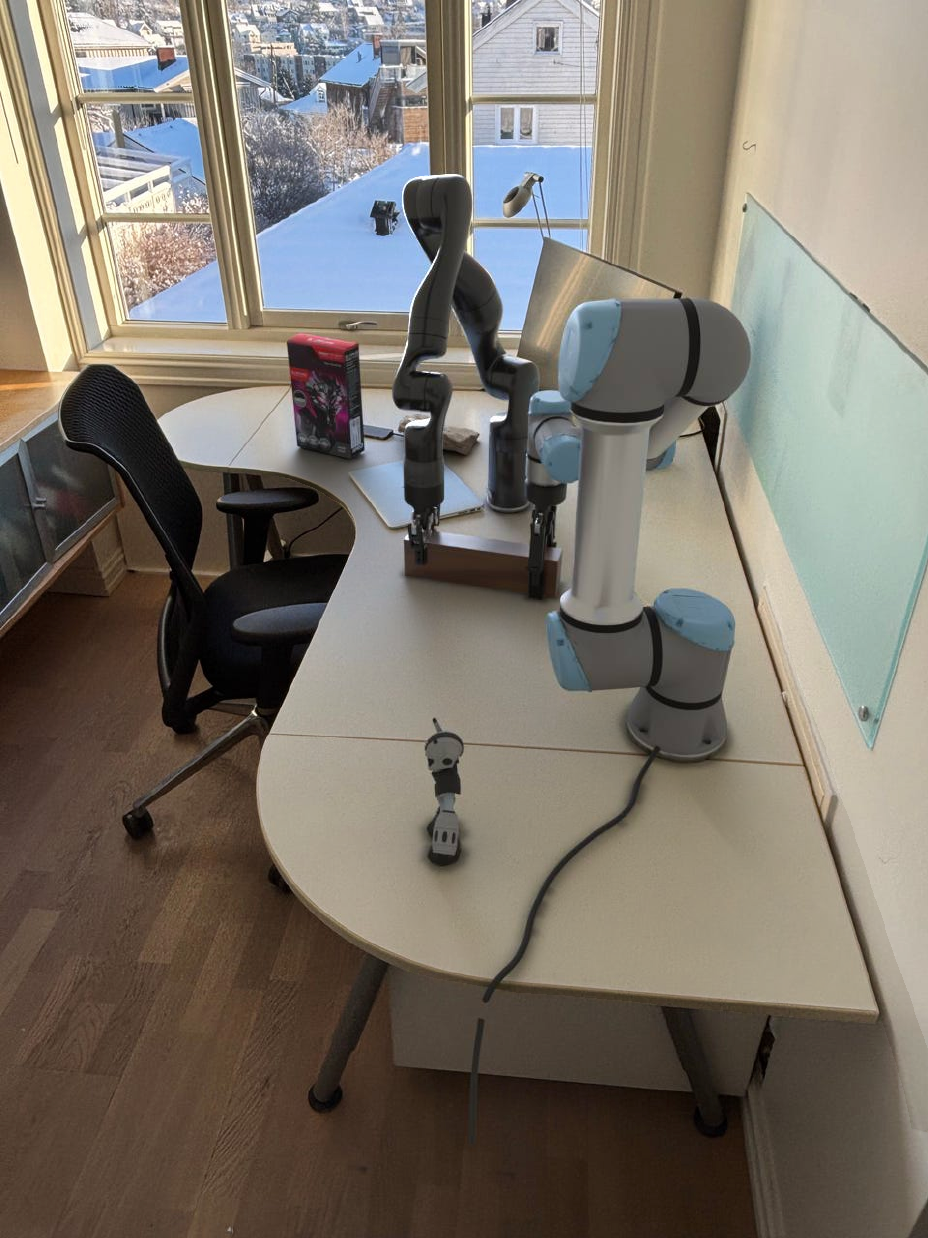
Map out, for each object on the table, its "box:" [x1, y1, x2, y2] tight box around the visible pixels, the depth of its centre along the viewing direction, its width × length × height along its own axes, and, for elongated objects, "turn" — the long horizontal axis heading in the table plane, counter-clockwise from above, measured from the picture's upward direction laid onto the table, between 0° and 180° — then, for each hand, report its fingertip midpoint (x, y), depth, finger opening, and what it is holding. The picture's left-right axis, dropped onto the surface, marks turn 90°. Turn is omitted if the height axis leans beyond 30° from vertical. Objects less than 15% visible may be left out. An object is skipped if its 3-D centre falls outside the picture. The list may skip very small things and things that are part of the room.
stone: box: [397, 413, 481, 455], centre depth 233 cm, size 21×15×6 cm
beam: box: [403, 530, 564, 599], centre depth 178 cm, size 5×30×8 cm, turn 75°
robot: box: [423, 717, 465, 867], centre depth 118 cm, size 20×5×20 cm, turn 3°
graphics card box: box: [286, 332, 366, 459], centre depth 224 cm, size 17×7×27 cm, turn 62°
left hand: (425, 556), depth 181 cm, fingers closed on beam, 5 cm apart
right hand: (539, 587), depth 177 cm, fingers open, 7 cm apart
